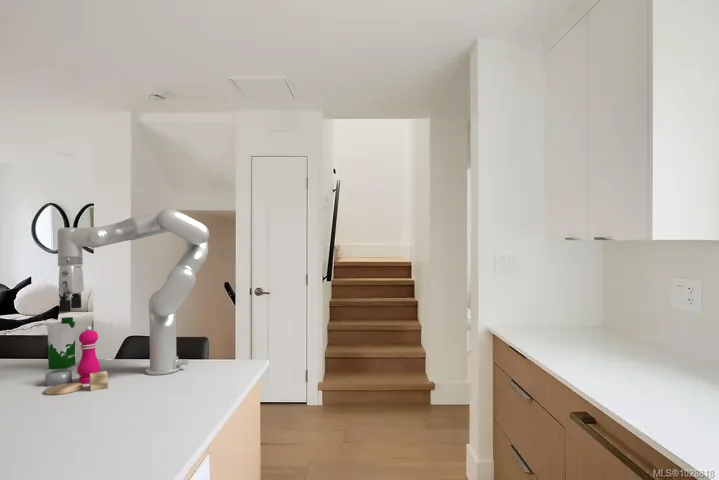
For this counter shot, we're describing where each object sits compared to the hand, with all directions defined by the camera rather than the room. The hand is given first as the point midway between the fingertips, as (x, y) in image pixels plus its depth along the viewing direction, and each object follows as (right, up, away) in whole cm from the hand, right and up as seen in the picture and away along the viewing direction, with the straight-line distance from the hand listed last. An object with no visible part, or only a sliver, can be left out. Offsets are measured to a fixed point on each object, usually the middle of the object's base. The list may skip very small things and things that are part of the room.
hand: (70, 309), depth 164 cm
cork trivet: (+3, -26, -8) cm, 28 cm away
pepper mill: (+5, -26, +2) cm, 27 cm away
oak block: (+14, -26, -6) cm, 30 cm away
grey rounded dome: (-4, -27, 0) cm, 27 cm away
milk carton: (-19, -27, +24) cm, 41 cm away
